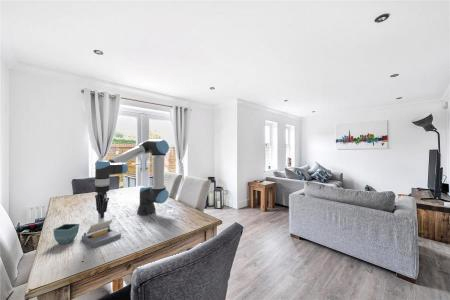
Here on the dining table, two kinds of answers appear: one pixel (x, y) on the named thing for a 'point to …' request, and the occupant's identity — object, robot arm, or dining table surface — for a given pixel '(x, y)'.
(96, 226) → the cover
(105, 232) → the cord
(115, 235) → the desk card holder
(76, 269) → the dining table surface
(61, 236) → the flower pot
